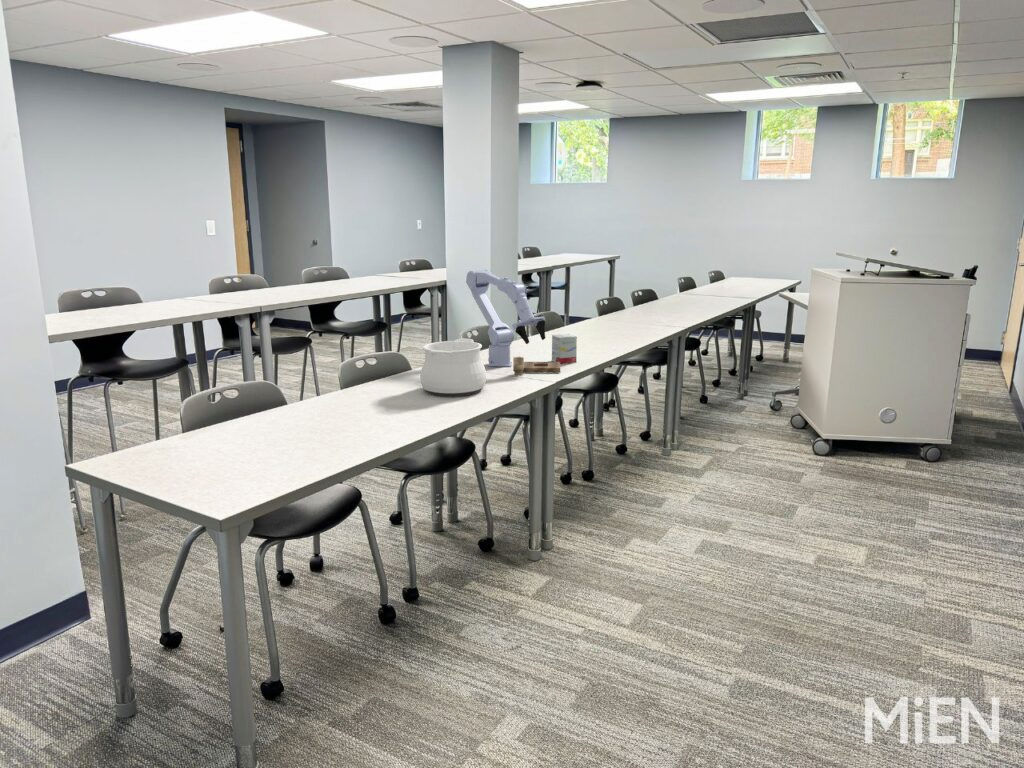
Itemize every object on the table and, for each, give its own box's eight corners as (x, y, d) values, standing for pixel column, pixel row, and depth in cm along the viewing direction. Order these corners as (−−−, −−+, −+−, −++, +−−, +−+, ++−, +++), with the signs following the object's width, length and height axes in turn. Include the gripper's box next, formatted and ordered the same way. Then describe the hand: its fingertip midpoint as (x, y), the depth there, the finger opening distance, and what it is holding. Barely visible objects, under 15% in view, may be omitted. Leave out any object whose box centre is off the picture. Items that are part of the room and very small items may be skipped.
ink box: (577, 362, 315) (577, 335, 312) (559, 364, 312) (559, 337, 309) (568, 359, 323) (568, 333, 320) (551, 360, 320) (551, 334, 317)
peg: (513, 375, 290) (512, 358, 288) (513, 373, 294) (513, 356, 293) (523, 375, 290) (523, 358, 288) (524, 373, 294) (523, 356, 292)
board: (521, 372, 295) (521, 368, 295) (522, 366, 308) (522, 361, 308) (560, 372, 295) (560, 368, 294) (559, 366, 307) (559, 361, 307)
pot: (438, 380, 284) (437, 336, 280) (497, 384, 277) (496, 339, 273) (407, 397, 258) (405, 349, 254) (470, 402, 250) (469, 353, 246)
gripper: (512, 310, 288) (524, 341, 286) (543, 303, 294) (554, 333, 292) (506, 317, 294) (517, 347, 292) (536, 310, 300) (548, 339, 298)
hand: (535, 341), depth 292 cm, fingers open, 7 cm apart
